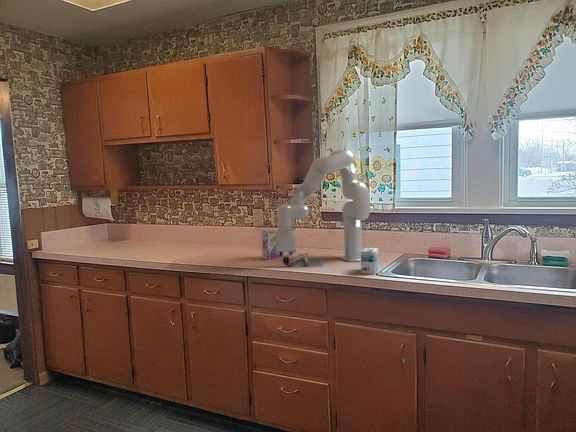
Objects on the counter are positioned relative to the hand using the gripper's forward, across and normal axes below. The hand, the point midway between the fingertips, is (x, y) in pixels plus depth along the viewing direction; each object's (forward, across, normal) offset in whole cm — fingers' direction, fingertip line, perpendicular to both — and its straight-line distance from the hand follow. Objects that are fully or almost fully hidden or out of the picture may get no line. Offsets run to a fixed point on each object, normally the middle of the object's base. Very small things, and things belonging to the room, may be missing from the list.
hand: (286, 264), depth 232 cm
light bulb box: (+1, -40, +15) cm, 43 cm away
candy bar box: (+2, +7, -25) cm, 26 cm away
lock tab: (+1, -10, -18) cm, 21 cm away
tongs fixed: (+1, -10, -6) cm, 12 cm away
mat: (+1, -10, -8) cm, 13 cm away
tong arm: (+1, -5, -6) cm, 8 cm away
